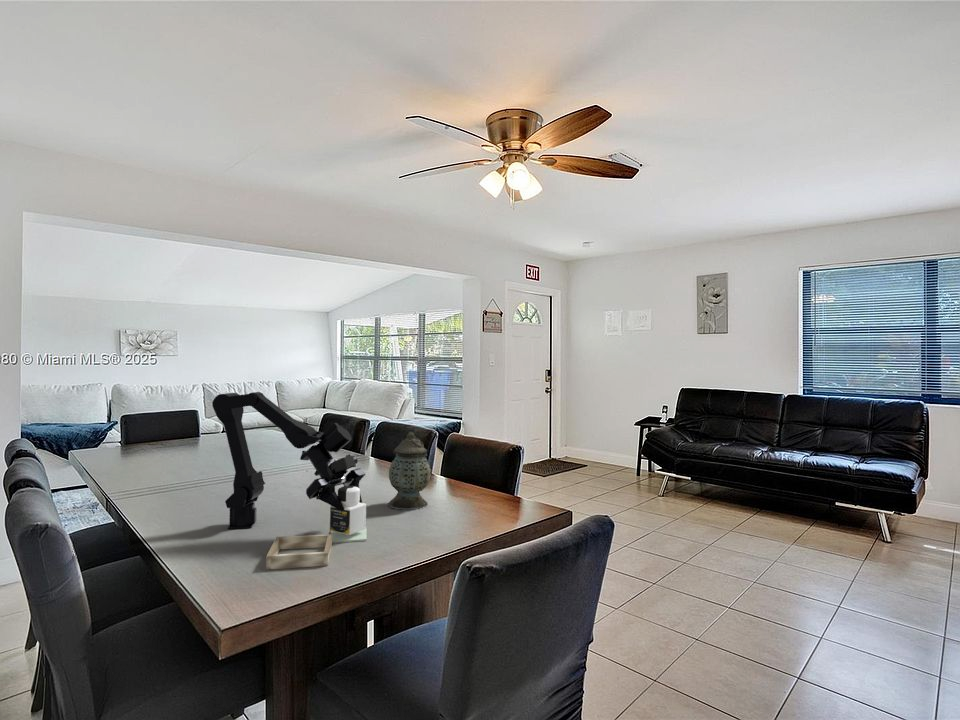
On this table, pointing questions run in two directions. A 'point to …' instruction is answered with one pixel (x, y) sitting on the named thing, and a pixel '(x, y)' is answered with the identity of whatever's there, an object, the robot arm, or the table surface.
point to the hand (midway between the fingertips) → (352, 507)
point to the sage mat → (349, 536)
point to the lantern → (409, 474)
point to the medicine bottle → (348, 512)
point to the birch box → (299, 559)
